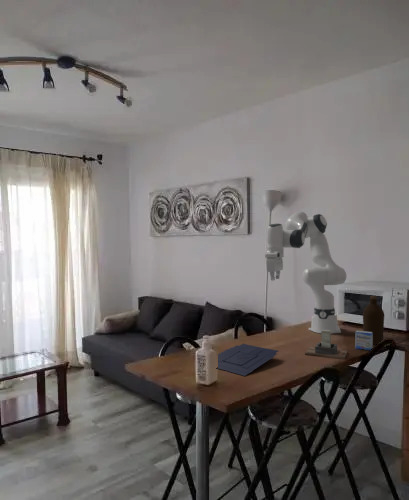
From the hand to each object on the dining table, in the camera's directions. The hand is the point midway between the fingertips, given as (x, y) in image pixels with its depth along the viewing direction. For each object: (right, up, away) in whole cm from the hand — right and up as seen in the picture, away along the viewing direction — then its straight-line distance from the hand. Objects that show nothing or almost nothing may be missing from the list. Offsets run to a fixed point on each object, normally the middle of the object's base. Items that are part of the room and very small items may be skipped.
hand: (275, 279), depth 214 cm
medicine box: (+43, -34, -13) cm, 56 cm away
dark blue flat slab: (-21, -35, -34) cm, 53 cm away
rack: (+21, -34, -21) cm, 45 cm away
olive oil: (+52, -34, -2) cm, 62 cm away
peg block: (+21, -33, -21) cm, 45 cm away
